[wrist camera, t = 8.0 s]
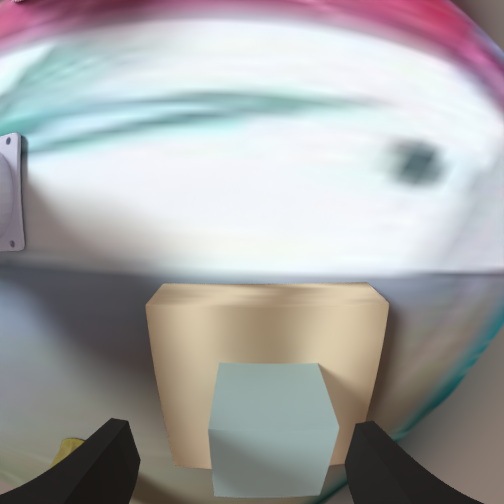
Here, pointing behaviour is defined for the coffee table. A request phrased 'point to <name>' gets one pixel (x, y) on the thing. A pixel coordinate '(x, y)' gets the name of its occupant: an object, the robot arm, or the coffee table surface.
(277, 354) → the beech block
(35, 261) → the coffee table surface
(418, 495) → the robot arm
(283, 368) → the teal cube
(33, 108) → the coffee table surface
